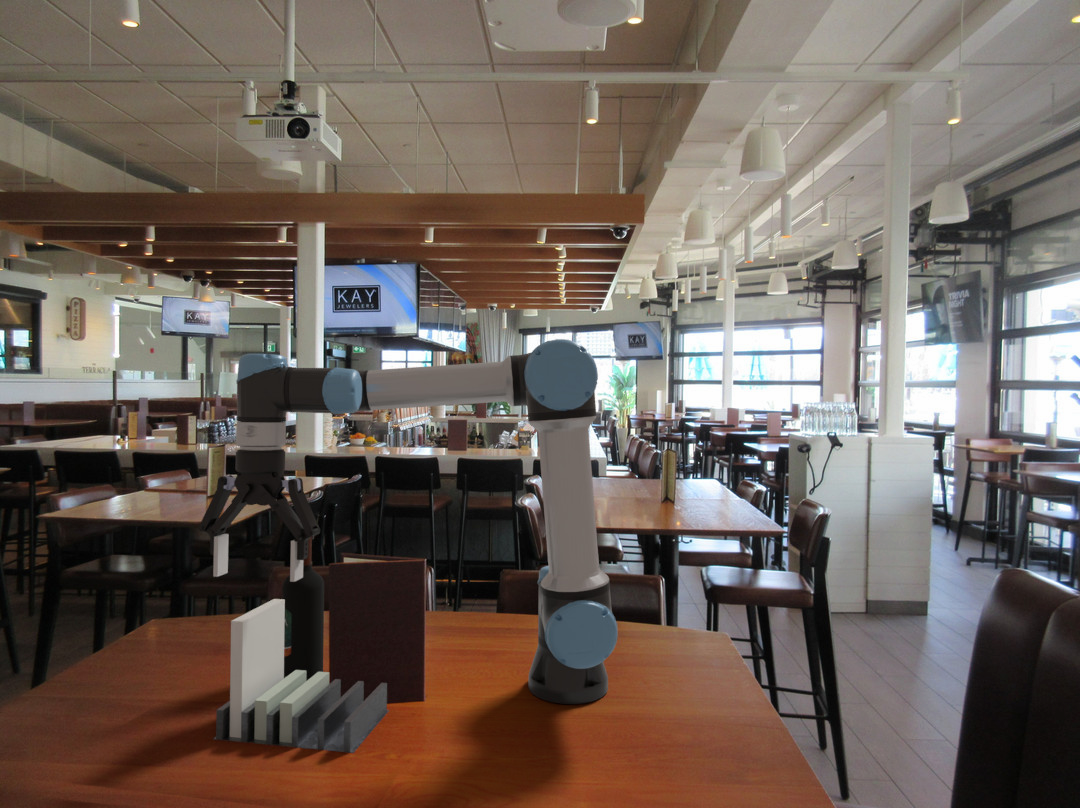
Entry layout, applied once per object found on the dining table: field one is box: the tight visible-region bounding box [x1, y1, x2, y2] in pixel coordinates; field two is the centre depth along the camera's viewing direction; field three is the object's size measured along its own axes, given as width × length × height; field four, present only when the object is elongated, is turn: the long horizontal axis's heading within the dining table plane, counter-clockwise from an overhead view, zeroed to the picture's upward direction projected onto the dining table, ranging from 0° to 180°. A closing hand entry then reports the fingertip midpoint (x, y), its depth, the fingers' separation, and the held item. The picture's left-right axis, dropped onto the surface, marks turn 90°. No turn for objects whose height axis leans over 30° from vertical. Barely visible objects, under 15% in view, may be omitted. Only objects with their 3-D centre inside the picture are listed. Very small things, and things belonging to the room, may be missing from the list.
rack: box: [213, 678, 390, 754], centre depth 106 cm, size 23×14×6 cm, turn 81°
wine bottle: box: [281, 536, 325, 681], centre depth 125 cm, size 8×8×30 cm
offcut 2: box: [280, 671, 330, 743], centre depth 106 cm, size 2×12×6 cm, turn 171°
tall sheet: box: [229, 598, 285, 738], centre depth 107 cm, size 2×12×18 cm, turn 171°
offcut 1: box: [254, 670, 307, 740], centre depth 107 cm, size 2×12×6 cm, turn 171°
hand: (258, 577), depth 108 cm, fingers open, 13 cm apart
